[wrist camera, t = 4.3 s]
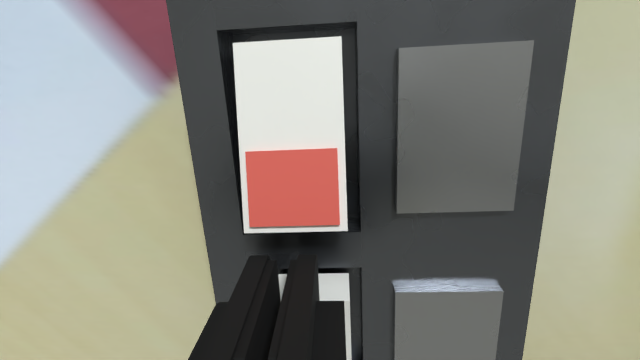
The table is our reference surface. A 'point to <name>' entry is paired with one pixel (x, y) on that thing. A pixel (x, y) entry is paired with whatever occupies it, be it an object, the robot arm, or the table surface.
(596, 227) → the table surface
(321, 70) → the rocker
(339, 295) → the rocker
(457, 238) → the switch panel
